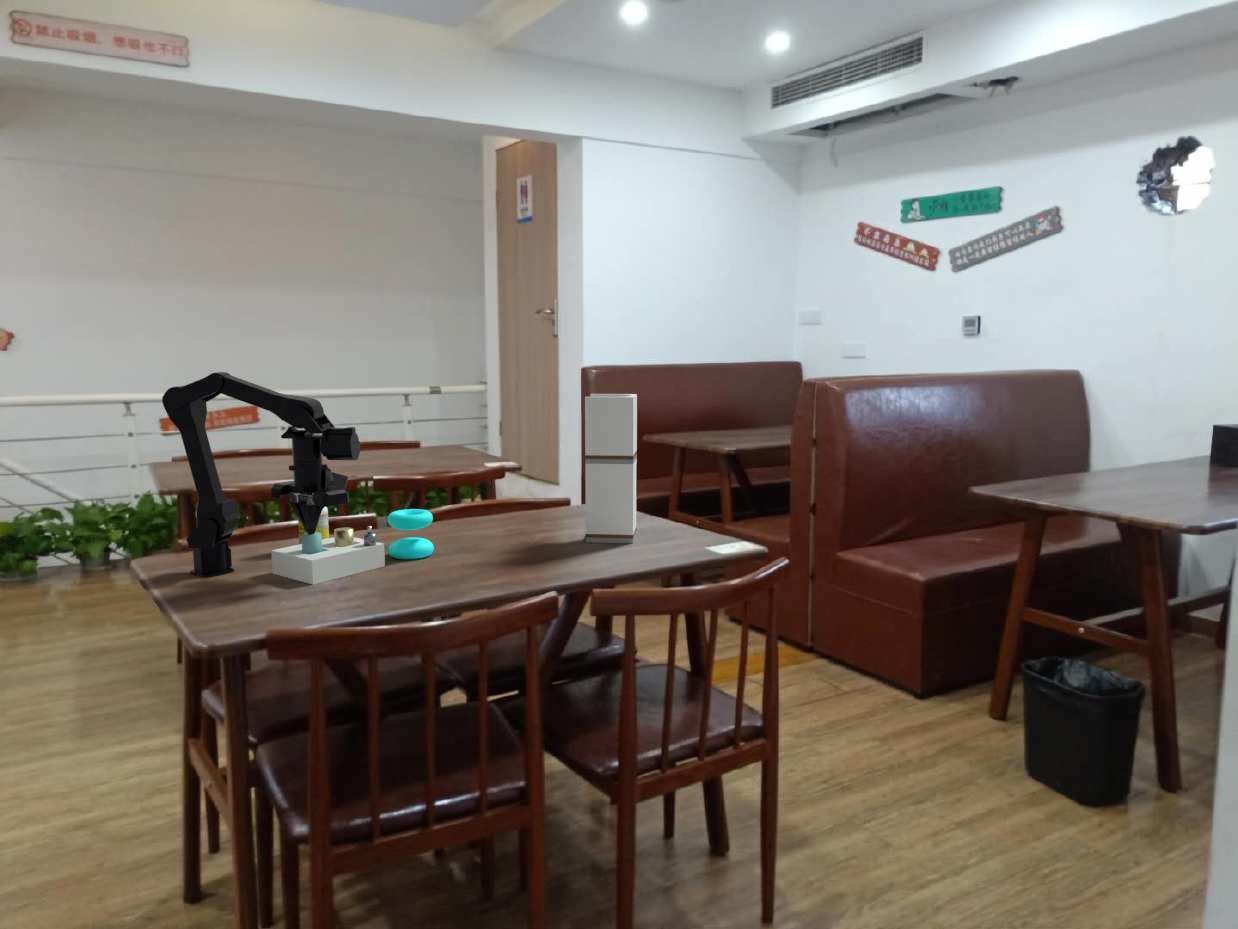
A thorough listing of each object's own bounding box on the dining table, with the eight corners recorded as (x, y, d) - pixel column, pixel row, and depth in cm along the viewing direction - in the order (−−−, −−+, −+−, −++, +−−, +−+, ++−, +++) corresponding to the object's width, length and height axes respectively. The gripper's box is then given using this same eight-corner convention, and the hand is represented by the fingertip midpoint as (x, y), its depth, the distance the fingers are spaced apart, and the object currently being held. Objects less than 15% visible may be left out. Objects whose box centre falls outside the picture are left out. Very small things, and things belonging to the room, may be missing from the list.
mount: (313, 584, 182) (311, 560, 182) (272, 573, 191) (271, 550, 190) (384, 566, 197) (384, 543, 196) (344, 556, 205) (343, 535, 204)
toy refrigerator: (636, 533, 228) (636, 394, 223) (633, 543, 218) (633, 397, 213) (591, 532, 229) (590, 393, 224) (585, 542, 219) (585, 396, 214)
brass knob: (343, 564, 194) (341, 532, 193) (331, 561, 196) (330, 529, 195) (358, 560, 197) (357, 529, 196) (347, 558, 199) (345, 526, 198)
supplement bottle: (293, 551, 210) (290, 496, 208) (315, 545, 216) (312, 492, 214) (314, 554, 207) (311, 499, 205) (335, 548, 213) (333, 494, 211)
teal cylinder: (310, 570, 187) (309, 537, 186) (299, 567, 190) (297, 534, 189) (327, 566, 191) (325, 533, 190) (315, 563, 193) (313, 531, 192)
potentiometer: (369, 546, 193) (368, 528, 192) (361, 545, 195) (360, 526, 194) (378, 544, 195) (378, 526, 194) (371, 542, 197) (370, 524, 196)
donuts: (378, 515, 201) (401, 506, 211) (380, 559, 203) (402, 549, 212) (419, 517, 199) (440, 509, 208) (420, 562, 200) (441, 551, 210)
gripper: (368, 459, 188) (371, 533, 190) (313, 452, 199) (317, 522, 201) (322, 465, 179) (326, 543, 181) (267, 457, 190) (272, 531, 192)
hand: (311, 534), depth 189 cm, fingers closed, pressing on teal cylinder
